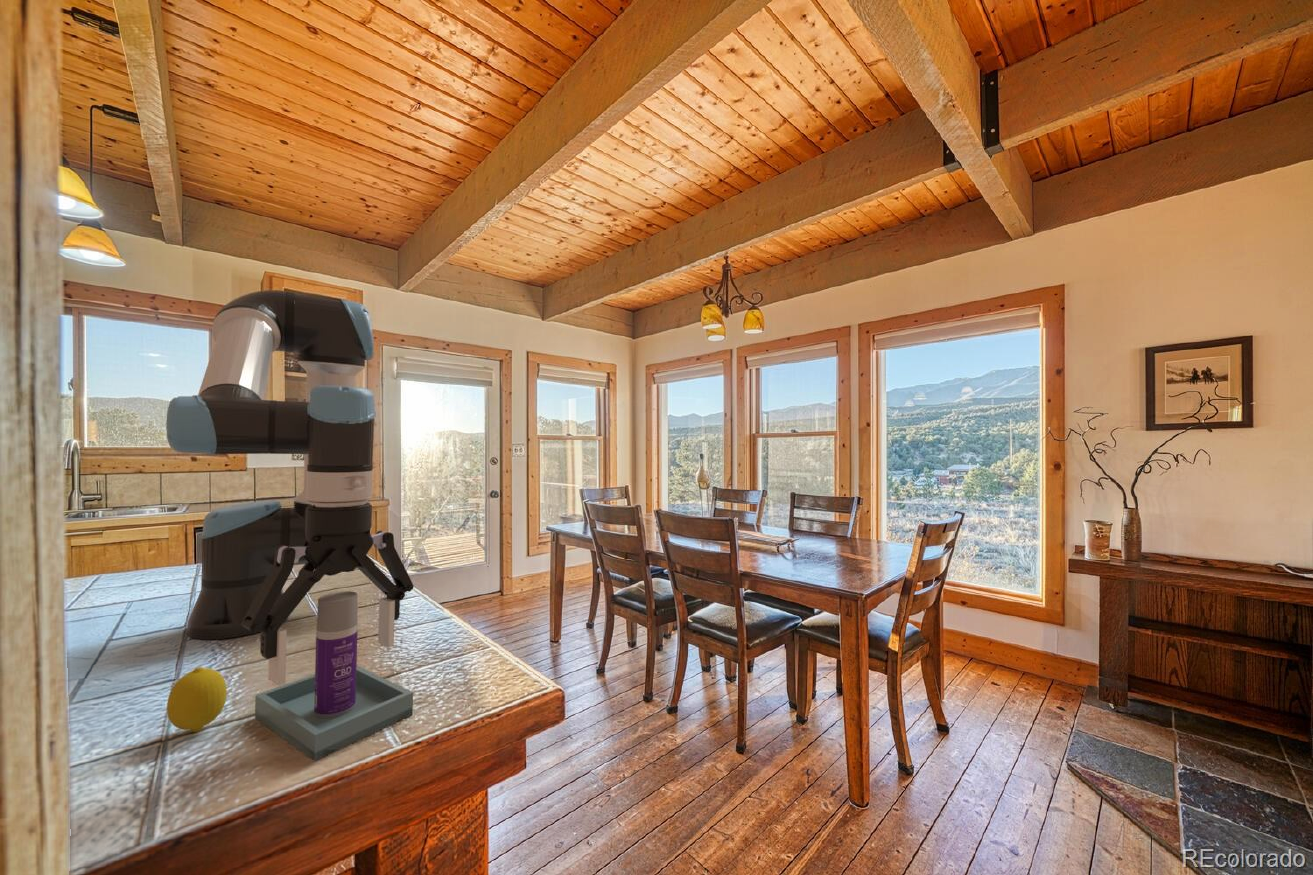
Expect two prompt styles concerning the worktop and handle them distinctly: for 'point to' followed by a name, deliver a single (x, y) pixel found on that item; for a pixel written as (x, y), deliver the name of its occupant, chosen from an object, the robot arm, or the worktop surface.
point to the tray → (320, 737)
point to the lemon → (196, 699)
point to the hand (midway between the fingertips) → (335, 661)
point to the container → (336, 654)
